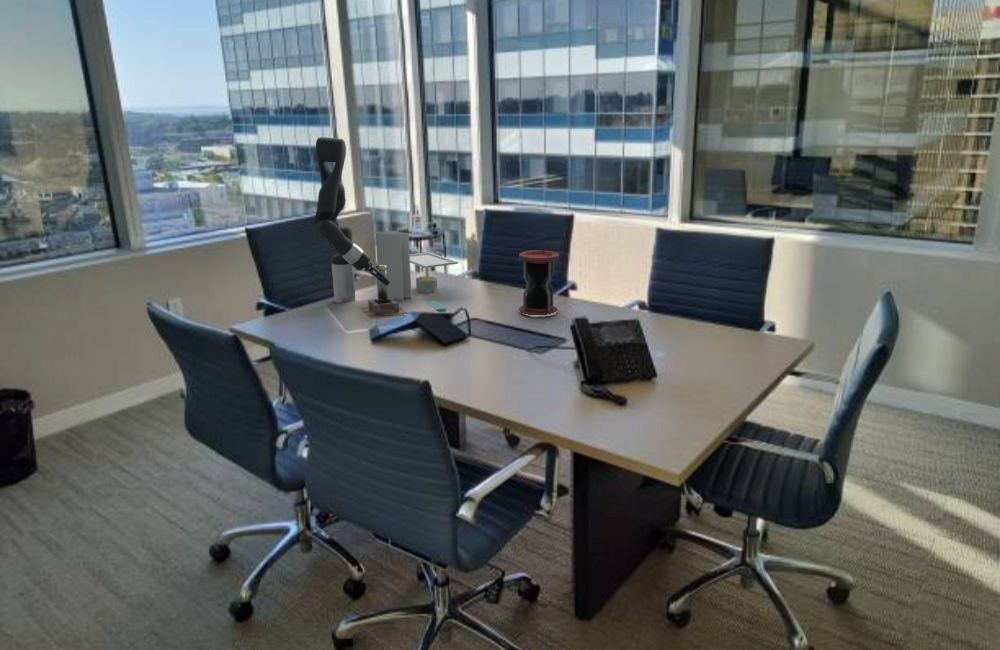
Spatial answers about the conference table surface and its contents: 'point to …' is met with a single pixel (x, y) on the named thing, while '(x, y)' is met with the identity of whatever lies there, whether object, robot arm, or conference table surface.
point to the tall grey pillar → (395, 262)
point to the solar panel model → (426, 262)
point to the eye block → (383, 308)
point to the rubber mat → (436, 305)
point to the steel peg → (380, 286)
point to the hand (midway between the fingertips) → (386, 282)
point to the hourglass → (538, 282)
